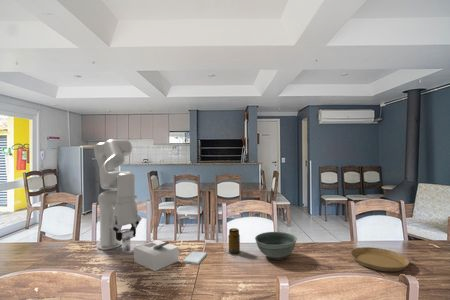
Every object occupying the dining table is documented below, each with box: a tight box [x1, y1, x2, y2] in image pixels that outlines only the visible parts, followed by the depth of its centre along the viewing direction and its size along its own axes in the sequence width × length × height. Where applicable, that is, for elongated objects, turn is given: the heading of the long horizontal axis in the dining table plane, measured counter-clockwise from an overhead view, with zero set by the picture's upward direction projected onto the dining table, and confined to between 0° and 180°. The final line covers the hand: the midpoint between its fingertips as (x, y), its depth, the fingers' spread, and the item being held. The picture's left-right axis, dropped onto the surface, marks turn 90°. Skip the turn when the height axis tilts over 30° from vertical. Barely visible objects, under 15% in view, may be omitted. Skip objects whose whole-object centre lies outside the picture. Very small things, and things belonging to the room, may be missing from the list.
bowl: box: [254, 231, 297, 261], centre depth 133 cm, size 21×21×10 cm
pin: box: [120, 228, 134, 253], centre depth 121 cm, size 6×6×9 cm
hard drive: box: [182, 251, 208, 265], centre depth 132 cm, size 2×8×12 cm
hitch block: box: [133, 239, 179, 272], centre depth 129 cm, size 17×14×7 cm
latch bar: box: [153, 241, 170, 249], centre depth 126 cm, size 7×5×1 cm
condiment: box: [225, 227, 246, 257], centre depth 139 cm, size 7×8×12 cm
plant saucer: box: [350, 246, 410, 273], centre depth 125 cm, size 24×24×3 cm
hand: (126, 237), depth 121 cm, fingers closed on pin, 6 cm apart
